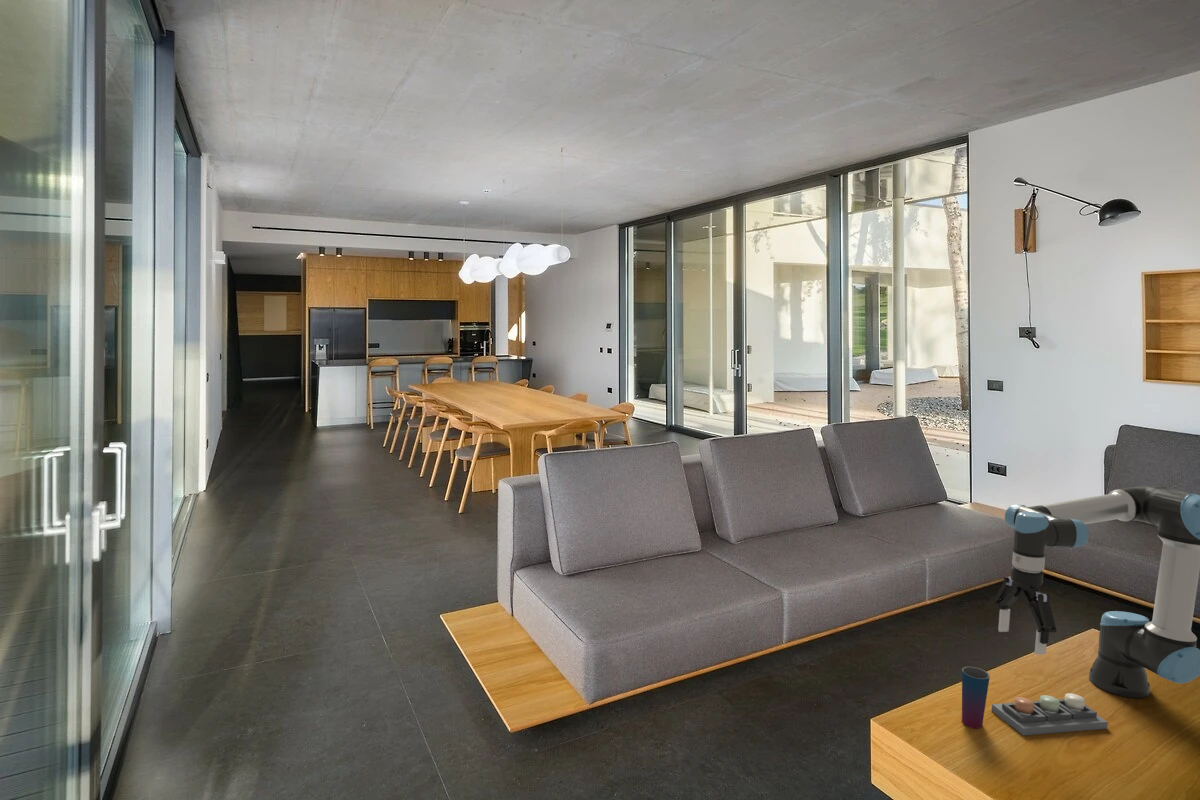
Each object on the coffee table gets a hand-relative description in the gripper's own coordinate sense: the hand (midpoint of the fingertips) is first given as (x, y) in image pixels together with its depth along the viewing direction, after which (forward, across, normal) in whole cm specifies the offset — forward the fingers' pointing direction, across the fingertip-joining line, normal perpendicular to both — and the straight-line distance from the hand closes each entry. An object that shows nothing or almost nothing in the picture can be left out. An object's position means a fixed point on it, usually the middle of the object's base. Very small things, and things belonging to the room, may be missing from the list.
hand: (1021, 642), depth 187 cm
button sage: (+20, 0, +10) cm, 22 cm away
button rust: (+20, 0, +2) cm, 20 cm away
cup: (+24, -1, -13) cm, 27 cm away
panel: (+23, 0, +10) cm, 26 cm away
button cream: (+20, 0, +18) cm, 27 cm away
